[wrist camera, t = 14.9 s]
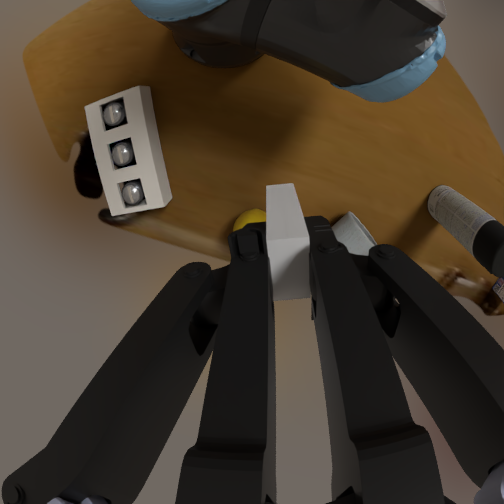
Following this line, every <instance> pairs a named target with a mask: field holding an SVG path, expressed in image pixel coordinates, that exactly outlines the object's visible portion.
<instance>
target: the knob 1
mask: <svg viewBox="0 0 504 504" xmlns="http://www.w3.org/2000/svg"><path fill="white" fill-rule="evenodd" d="M103 119H104V121H105V123H106V124H108V125H110V126H114V125H119V124H123V123H127V122H128V121H127V116H126V110H125V105H124V102H116V103H110V104H109V105H107V106H106V108H105V109H104V112H103Z"/></svg>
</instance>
